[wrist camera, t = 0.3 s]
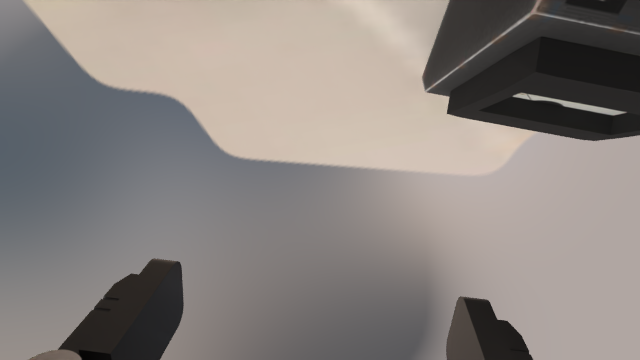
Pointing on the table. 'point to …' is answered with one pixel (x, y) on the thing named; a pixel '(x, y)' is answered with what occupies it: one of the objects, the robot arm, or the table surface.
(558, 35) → the voltmeter
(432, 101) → the table surface
